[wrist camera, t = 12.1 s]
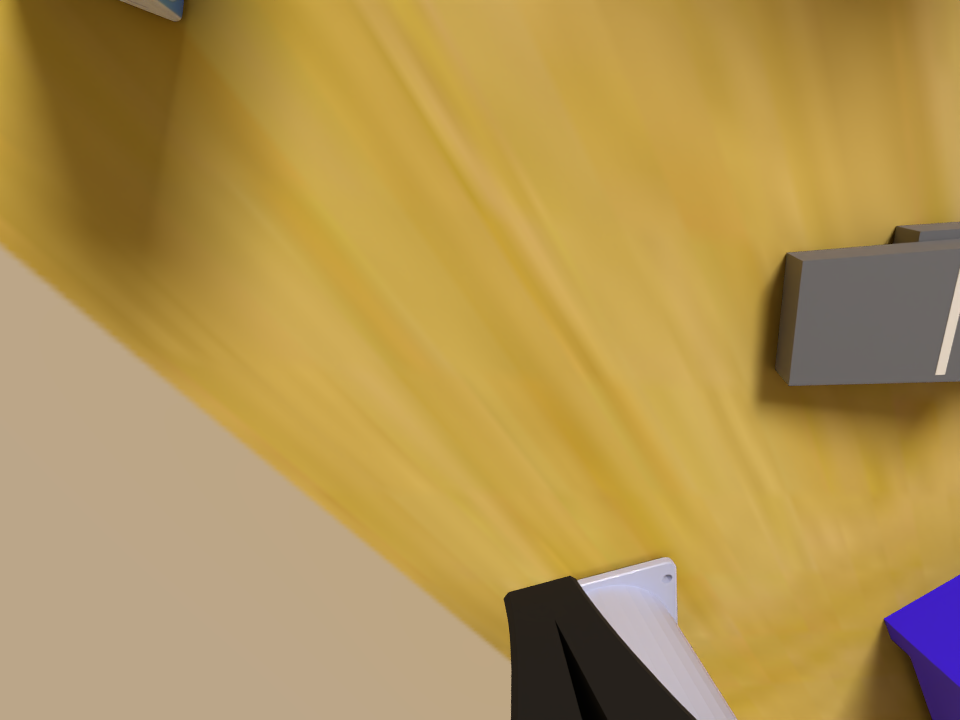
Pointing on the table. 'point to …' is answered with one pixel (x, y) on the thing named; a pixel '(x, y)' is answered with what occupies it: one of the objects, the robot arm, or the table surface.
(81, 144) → the table surface
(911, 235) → the domino
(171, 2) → the medicine box
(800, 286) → the domino
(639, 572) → the robot arm
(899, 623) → the bracket
